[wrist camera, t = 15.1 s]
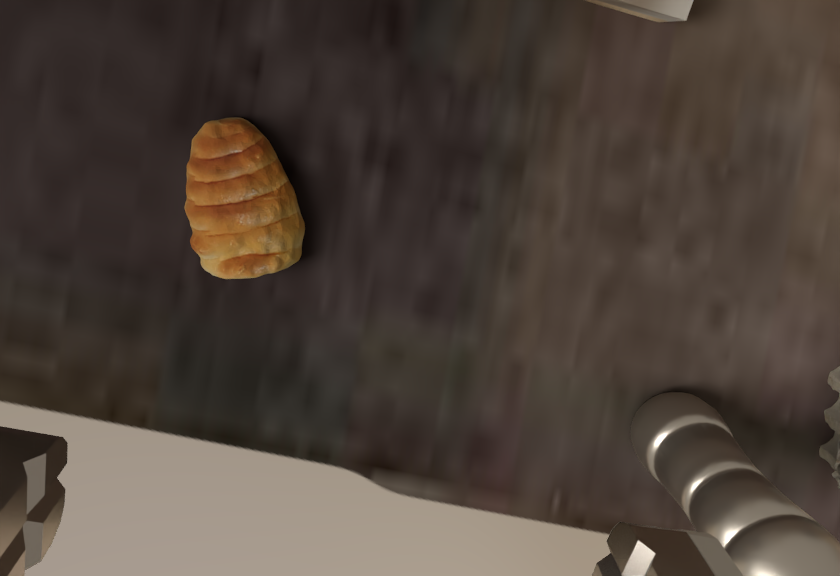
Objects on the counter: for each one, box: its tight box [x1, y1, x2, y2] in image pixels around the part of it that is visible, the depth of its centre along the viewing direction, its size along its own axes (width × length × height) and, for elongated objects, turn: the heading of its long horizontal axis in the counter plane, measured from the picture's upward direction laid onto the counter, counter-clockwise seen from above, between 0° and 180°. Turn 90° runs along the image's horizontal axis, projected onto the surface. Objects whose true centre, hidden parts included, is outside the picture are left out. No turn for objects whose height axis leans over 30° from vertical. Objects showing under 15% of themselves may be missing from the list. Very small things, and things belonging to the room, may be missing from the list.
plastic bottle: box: [630, 392, 840, 576], centre depth 38 cm, size 6×7×20 cm
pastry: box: [184, 117, 305, 279], centre depth 37 cm, size 9×7×4 cm
